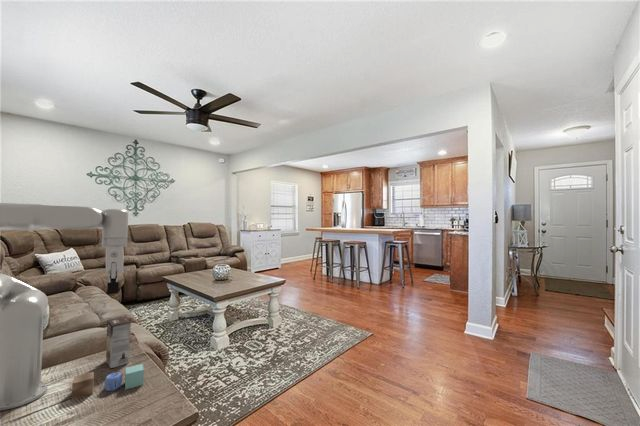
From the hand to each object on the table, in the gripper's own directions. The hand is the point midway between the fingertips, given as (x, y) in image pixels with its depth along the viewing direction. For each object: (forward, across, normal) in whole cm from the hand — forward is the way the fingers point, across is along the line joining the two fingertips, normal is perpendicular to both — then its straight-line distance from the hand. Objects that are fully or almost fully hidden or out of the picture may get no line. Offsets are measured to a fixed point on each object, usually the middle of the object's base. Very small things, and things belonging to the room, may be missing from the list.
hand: (112, 293), depth 102 cm
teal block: (+29, -12, -7) cm, 32 cm away
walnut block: (+29, -9, +7) cm, 31 cm away
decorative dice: (+29, -10, -1) cm, 31 cm away
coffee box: (+29, +10, -2) cm, 31 cm away
